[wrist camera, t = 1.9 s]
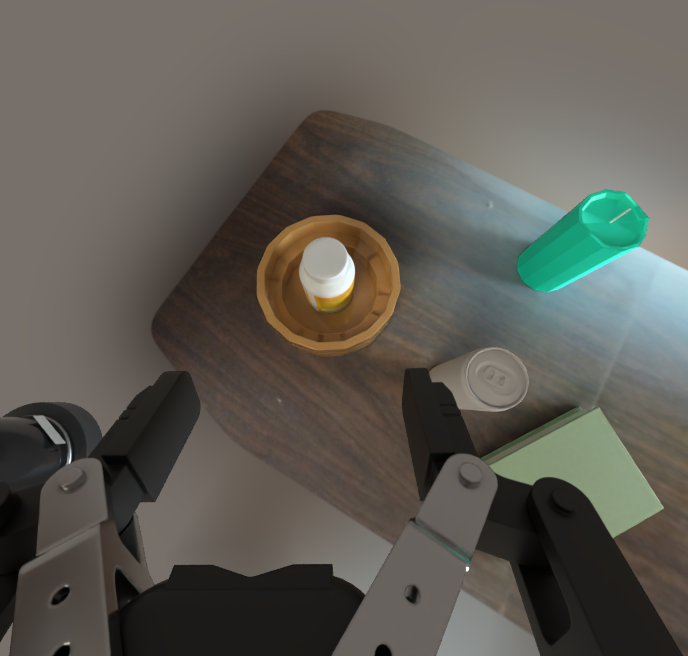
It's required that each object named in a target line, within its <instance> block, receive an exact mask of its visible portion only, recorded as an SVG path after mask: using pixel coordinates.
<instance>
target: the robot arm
mask: <svg viewBox="0 0 688 656" xmlns="http://www.w3.org/2000/svg"><path fill="white" fill-rule="evenodd" d="M402 411H403V417H404V422H405V427H406V432H407V437H408V442H409V447H410V452H411V457H412V462H413V467H414V472H415V477H416V482H417V487H418V492H419V497H420V501H423V503H422V505H421V507H420V509H419V510H418V512H417V514H416V516H415V517H414V518H411V519H410V520H409V521H408V522H407V523H406V525H405V527H404V528H403V530H402V532H401V534H400V535H399V537H398V539H397V541H396V542H395V544H394V546H393V548H392V549H391V551H390V553H389V555H388V557H387V558H386V560H385V562H384V564H383V565H382V567H381V569H380V571H379V573H378V574H377V576H376V578H375V580H374V581H373V583H372V585H371V587H370V588H369V590H368V592H367V594H366V595H365V594H364V593H363V592H362V591H361V590H359V589H358V588H357V587H355V586H354V585H352V584H351V583H349V582H347V581H345V580H343V579H341V578H338V577H335V576H333V566H332V564H295V565H294V564H293V565H290V566H287V567H283V568H280V569H277V570H274V571H270V572H267V573H264V574H260V575H257V576H254V577H247V576H244V575H241V574H238V573H235V572H232V571H229V570H226V569H223V568H220V567H218V566H214V565H174V567H173V570H172V572H171V574H170V577H169V579H167V580H165V581H163V582H160V583H158V584H156V585H154V583H153V581H152V579H151V576H150V574H149V571H148V568H147V564H146V558H145V553H144V547H143V542H142V537H141V532H140V526H139V521H138V516H137V514H136V512H135V510H136V509H137V507H138V505H139V503H140V502H155V501H156V499H157V497H158V495H159V493H160V492H161V490H162V488H163V486H164V483H165V482H166V480H167V478H168V476H169V474H170V472H171V470H172V468H173V466H174V464H175V462H176V460H177V458H178V456H179V454H180V453H181V450H182V449H183V447H184V444H185V443H186V441H187V439H188V437H189V435H190V433H191V431H192V429H193V427H194V425H195V423H196V421H197V419H198V417H199V414H200V400H199V397H198V395H197V392H196V389H195V386H194V384H193V381H192V378H191V376H190V374H189V373H188V372H187V371H174V372H173V371H170V372H169V371H168V372H164V373H163V374H162V375H161V376H160V377H159V379H158V380H157V381H156V383H155V384H154V385H153V386H149V387H147V388H146V389H145V390H143V391H142V392H140V393H139V394H138V395H136V397H135V398H134V399H133V400H132V402H131V403H130V404H129V406H128V407H127V410H124V412H123V413H122V414H121V415H120V417H119V420H116V422H115V423H114V424H113V426H112V427H111V428H110V429H109V431H108V432H107V433H106V434H105V436H104V437H103V438H102V440H101V441H100V442H99V443H98V445H97V446H96V447H95V448H94V450H93V451H92V452H91V453H90V455H89V456H88V457H87V458H83V459H79V460H76V461H74V443H73V439H72V436H71V434H70V432H69V431H68V429H67V428H66V427H65V425H64V424H63V423H61V422H60V421H59V420H57V419H55V418H53V417H50V416H46V415H26V416H21V417H0V642H1V640H2V638H3V637H4V635H5V634H6V632H7V630H8V629H9V627H10V626H11V624H12V623H13V627H12V637H11V646H10V655H9V656H436V654H437V652H438V649H439V646H440V643H441V641H442V638H443V635H444V633H445V630H446V627H447V624H448V622H449V619H450V616H451V614H452V611H453V608H454V606H455V603H456V600H457V598H458V595H459V592H460V589H461V587H462V584H463V581H464V579H465V576H466V573H467V570H468V568H469V565H470V562H471V559H472V556H473V553H474V550H475V549H477V550H480V551H482V552H485V553H488V554H491V555H494V556H497V557H499V558H502V559H505V560H508V561H510V564H511V567H512V570H513V573H514V576H515V579H516V582H517V585H518V589H519V592H520V595H521V598H522V601H523V604H524V607H525V610H526V613H527V616H528V619H529V622H530V625H531V628H532V631H533V634H534V637H535V641H536V644H537V647H538V650H539V652H540V656H683V655H682V653H681V651H680V650H679V648H678V646H677V645H676V643H675V641H674V640H673V638H672V636H671V635H670V633H669V631H668V630H667V628H666V626H665V625H664V623H663V621H662V620H661V618H660V616H659V615H658V613H657V611H656V610H655V608H654V606H653V605H652V603H651V601H650V600H649V598H648V596H647V595H646V593H645V591H644V590H643V588H642V586H641V585H640V583H639V581H638V580H637V578H636V576H635V575H634V573H633V571H632V569H631V568H630V566H629V564H628V563H627V561H626V559H625V558H624V556H623V554H622V553H621V551H620V549H619V548H618V546H617V544H616V543H615V541H614V539H613V538H612V536H611V534H610V533H609V531H608V529H607V528H606V526H605V524H604V523H603V521H602V519H601V518H600V516H599V514H598V513H597V511H596V509H595V508H594V506H593V504H592V503H591V501H590V500H589V499H588V497H587V496H586V495H585V494H584V493H583V492H582V491H581V490H579V489H578V488H577V487H575V486H574V485H572V484H571V483H569V482H567V481H565V480H562V479H559V478H555V477H543V478H540V479H538V480H537V481H536V482H535V483H534V484H533V485H529V484H526V483H522V482H519V481H515V480H512V479H508V478H505V477H503V476H500V475H498V474H497V473H495V472H494V471H493V470H492V469H491V467H490V466H489V465H488V464H487V463H486V462H484V461H483V460H482V459H480V458H479V456H478V454H477V452H476V450H475V447H474V445H473V442H472V440H471V437H470V435H469V433H468V430H467V428H466V425H465V423H464V420H463V418H462V416H461V413H460V410H459V408H458V406H457V403H456V401H455V398H454V396H453V393H452V392H451V391H450V390H449V388H448V387H447V386H446V385H445V384H444V383H443V382H432V381H431V378H430V375H429V372H428V370H427V368H406V370H405V376H404V386H403V396H402Z"/></svg>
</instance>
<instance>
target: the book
mask: <svg viewBox="0 0 688 656" xmlns="http://www.w3.org/2000/svg"><path fill="white" fill-rule="evenodd" d="M480 459H482V460H483V461H484V462H486V463H487V464H488V465H489V466H490V467H491V469H492V470H493V471H494V472H495V473H497V474H498V475H500V476H503V477H505V478H508V479H512V480H515V481H519V482H522V483H526V484H529V485H533V484H534V483H535V482H536V481H537V480H538V479H540V478H543V477H555V478H559V479H562V480H565V481H567V482H569V483H571V484H572V485H574V486H575V487H577V488H578V489H579V490H581V491H582V492H583V493H584V494H585V495H586V496H587V497H588V499H589V500H590V501H591V503H592V504H593V506H594V508H595V509H596V511H597V513H598V514H599V516H600V518H601V519H602V521H603V523H604V524H605V526H606V528H607V529H608V531H609V533H610V534H611V536H612V538H614V537H615V536H617V535H619V534H621V533H622V532H624V531H626V530H627V529H629V528H631V527H633V526H634V525H636V524H638V523H640V522H641V521H643V520H645V519H646V518H648V517H650V516H652V515H653V514H655V513H657V512H659V511H660V510H662V509H664V508H663V506H662V505H661V503H660V501H659V500H658V498H657V497H656V495H655V494H654V492H653V491H652V489H651V487H650V486H649V484H648V483H647V481H646V480H645V478H644V477H643V475H642V474H641V472H640V470H639V469H638V467H637V466H636V464H635V463H634V461H633V460H632V458H631V456H630V455H629V453H628V452H627V450H626V449H625V447H624V446H623V444H622V442H621V441H620V439H619V438H618V436H617V435H616V433H615V432H614V430H613V429H612V427H611V425H610V424H609V422H608V421H607V419H606V418H605V416H604V415H603V413H602V411H601V410H600V408H599V407H595V408H593V409H592V410H582V409H581V408H580V407H576V408H574V409H572V410H570V411H568V412H566V413H565V414H563V415H561V416H559V417H557V418H555V419H553V420H551V421H549V422H548V423H546V424H544V425H542V426H540V427H538V428H536V429H534V430H533V431H531V432H529V433H527V434H525V435H523V436H521V437H519V438H517V439H516V440H514V441H512V442H510V443H508V444H506V445H504V446H502V447H501V448H499V449H497V450H495V451H493V452H491V453H489V454H487V455H485V456H484V457H482V458H480Z"/></svg>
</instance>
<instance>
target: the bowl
mask: <svg viewBox="0 0 688 656" xmlns="http://www.w3.org/2000/svg"><path fill="white" fill-rule="evenodd" d="M322 237H330V238H334V239H336V240H338V241H339V242H341V243H342V244H343V245H344V247H345V248H346V250H347V253H348V254H349V255H350V257H351V258H352V260H353V263H354V267H355V277H354V291H353V298H352V301H351V303H350V304H349V306H348V307H347V308H346V309H345V310H343V311H342V312H339V313H336V314H323V313H320V312H318V311H317V310H315V309H314V308H313V307H312V306H311V305H310V303H309V301H308V299H307V296H306V293H305V291H304V288H303V286H302V283H301V280H300V276H299V267H300V263H301V260H302V258H303V253H304V250H305V248H306V247H307V245H308V244H309V243H311V242H312V241H313V240H315V239H318V238H322ZM400 288H401V286H400V276H399V266H398V261H397V259H396V258H395V256H394V254H393V252H392V250H391V249H390V247H389V245H388V243H387V241H386V240H385V238H383V237H382V236H381V235H380V234H378V233H377V232H376V231H375V230H373V229H372V228H371V227H370V226H368V225H367V224H366V223H364V222H361V221H358V220H355V219H351V218H348V217H345V216H342V215H323V216H311V217H309V218H306V219H304V220H302V221H299V222H297V223H295V224H292V225H290V226H288V227H286V228H285V229H284V230H283V231H282V232H281V233H280V234H279V235H278V236H277V237H276V238H275V239H274V240H273V241H272V242H271V243H270V244H269V245H268V246H267V248H266V251H265V253H264V255H263V258H262V260H261V262H260V264H259V267H258V269H257V298H258V300H259V303H260V305H261V307H262V310H263V312H264V314H265V316H266V319H267V321H268V322H269V323H270V324H271V325H272V326H273V327H274V328H275V329H276V330H277V331H278V332H279V333H280V334H281V335H282V336H283V337H284V338H285V339H287V340H288V341H289V342H290V343H291V344H292V345H293V346H294V347H295V348H297V349H300V350H303V351H306V352H308V353H311V354H314V355H317V356H321V357H324V356H342V355H348V354H350V353H352V352H354V351H356V350H358V349H361V348H363V347H365V346H367V345H369V344H370V343H371V342H372V341H373V340H374V339H375V338H376V337H377V336H378V334H379V333H380V332H381V331H382V330H383V329H384V328H385V327H386V325H387V324H388V322H389V320H390V318H391V316H392V314H393V311H394V308H395V304H396V301H397V298H398V295H399V292H400Z"/></svg>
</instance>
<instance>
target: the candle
mask: <svg viewBox="0 0 688 656" xmlns="http://www.w3.org/2000/svg"><path fill="white" fill-rule="evenodd" d="M648 222H649V217H648V216H647V215H646V214H645V213H644V212H643V210H642V209H641V208H640V207H639V206H638V205H637V204H636V203H635V201H633V199H632V198H631V197H630V196H629V195H627V193H626V192H621V191H613V190H603V191H600V192H597V193H593V194H590V195H589V196H588V197H587V198H585V199H584V200H583V201H582V202H581V203H579V204H578V205H577V206H576V207H575V208H574V209H572V210H571V211H570V212H569V213H568V214H567V215H565V216H564V217H563V218H562V219H561V220H559V221H558V222H557V223H556V224H555V225H554V226H552V227H551V228H550V229H549V230H548V231H546V232H545V233H544V234H543V235H542V236H541V237H539V238H538V239H537V240H536V241H535V242H534V243H532V244H531V245H530V246H529V247H528V248H526V250H525V251H524V252H523V253H522V254H521V255H520V256H519V258H518V265H517V271H518V273H519V275H520V277H521V279H522V281H523V282H524V283H525V284H527V285H528V286H529V287H531V288H532V289H533V290H537V291H542V292H550V291H553V290H556V289H559V288H561V287H563V286H565V285H567V284H569V283H571V282H573V281H575V280H577V279H578V278H580V277H582V276H584V275H586V274H588V273H590V272H592V271H594V270H595V269H597V268H599V267H601V266H603V265H605V264H607V263H609V262H611V261H613V260H614V259H616V258H618V257H620V256H622V255H624V254H626V253H628V252H630V251H631V250H633V249H635V248H637V247H639V246H640V244H641V243H642V241H643V239H644V238H645V236H646V231H647V226H648Z"/></svg>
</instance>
